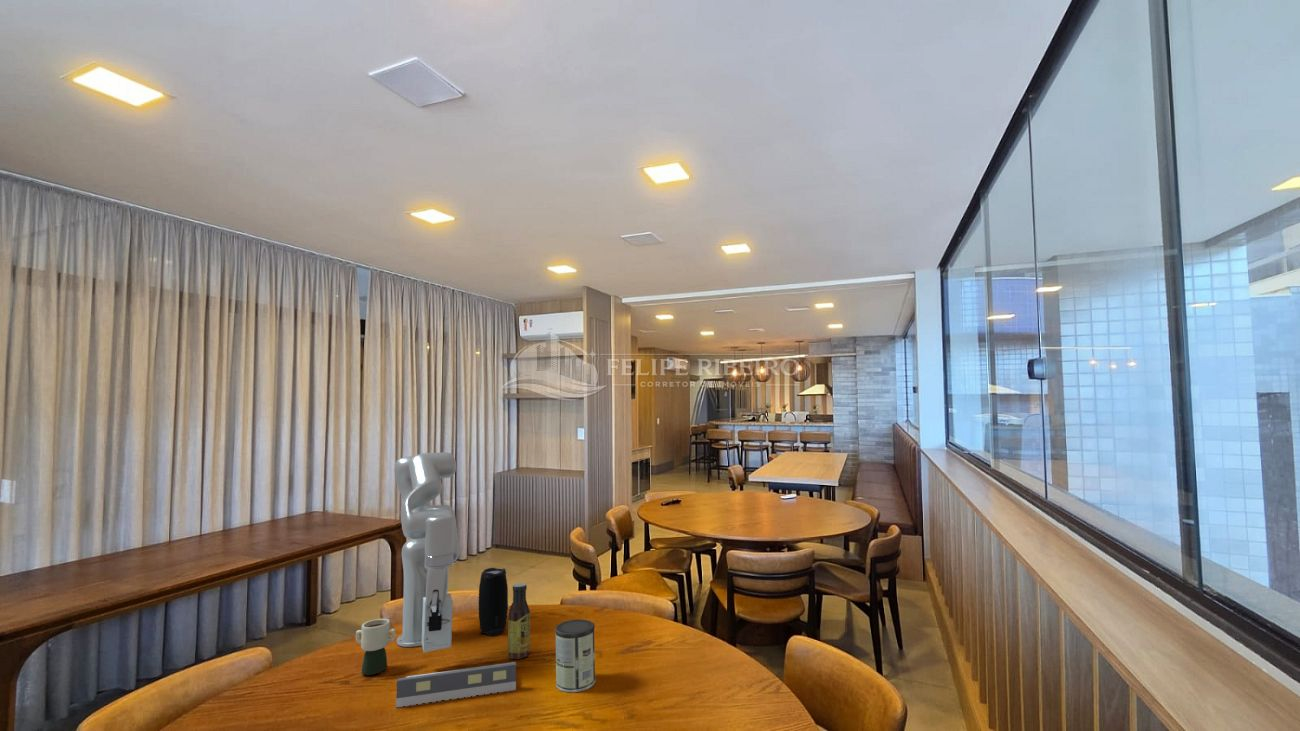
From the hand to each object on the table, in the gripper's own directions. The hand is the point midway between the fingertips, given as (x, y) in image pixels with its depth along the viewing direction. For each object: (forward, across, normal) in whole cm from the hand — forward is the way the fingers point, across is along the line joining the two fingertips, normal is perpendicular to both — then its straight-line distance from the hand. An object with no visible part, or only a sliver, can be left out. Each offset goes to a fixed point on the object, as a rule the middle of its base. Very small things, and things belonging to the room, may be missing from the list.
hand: (437, 623), depth 146 cm
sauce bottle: (+13, -3, +22) cm, 26 cm away
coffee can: (+12, +19, +36) cm, 43 cm away
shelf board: (+12, +12, +7) cm, 19 cm away
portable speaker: (+13, -25, +14) cm, 32 cm away
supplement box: (+6, 0, 0) cm, 6 cm away
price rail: (+10, +17, +7) cm, 21 cm away
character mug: (+13, -5, -17) cm, 22 cm away
